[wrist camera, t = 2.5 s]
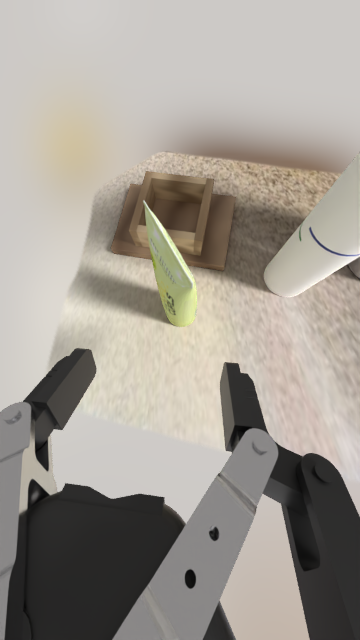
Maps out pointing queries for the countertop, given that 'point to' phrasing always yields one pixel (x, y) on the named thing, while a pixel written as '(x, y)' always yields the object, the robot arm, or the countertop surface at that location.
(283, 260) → the cylindrical container
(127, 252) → the wooden box on board
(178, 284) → the tube
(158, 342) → the countertop surface
